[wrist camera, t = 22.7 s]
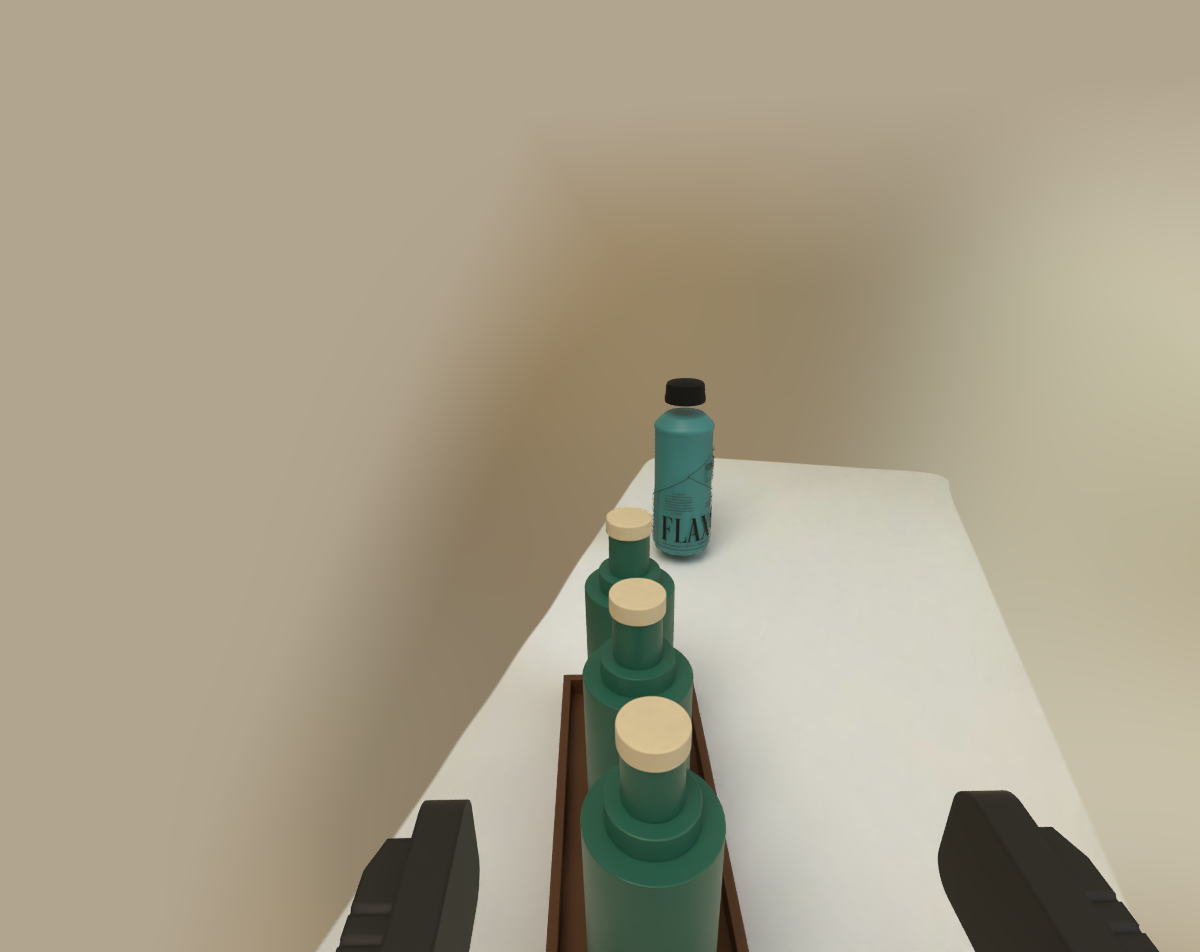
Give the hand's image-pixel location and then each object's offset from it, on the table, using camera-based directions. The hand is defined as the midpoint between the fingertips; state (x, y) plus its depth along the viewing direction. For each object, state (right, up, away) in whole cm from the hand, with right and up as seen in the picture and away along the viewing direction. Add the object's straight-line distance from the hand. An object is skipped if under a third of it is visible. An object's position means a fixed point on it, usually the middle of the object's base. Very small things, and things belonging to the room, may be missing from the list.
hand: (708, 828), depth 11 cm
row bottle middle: (+1, -17, +28) cm, 33 cm away
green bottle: (+1, -20, +20) cm, 29 cm away
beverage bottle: (+7, -3, +61) cm, 62 cm away
